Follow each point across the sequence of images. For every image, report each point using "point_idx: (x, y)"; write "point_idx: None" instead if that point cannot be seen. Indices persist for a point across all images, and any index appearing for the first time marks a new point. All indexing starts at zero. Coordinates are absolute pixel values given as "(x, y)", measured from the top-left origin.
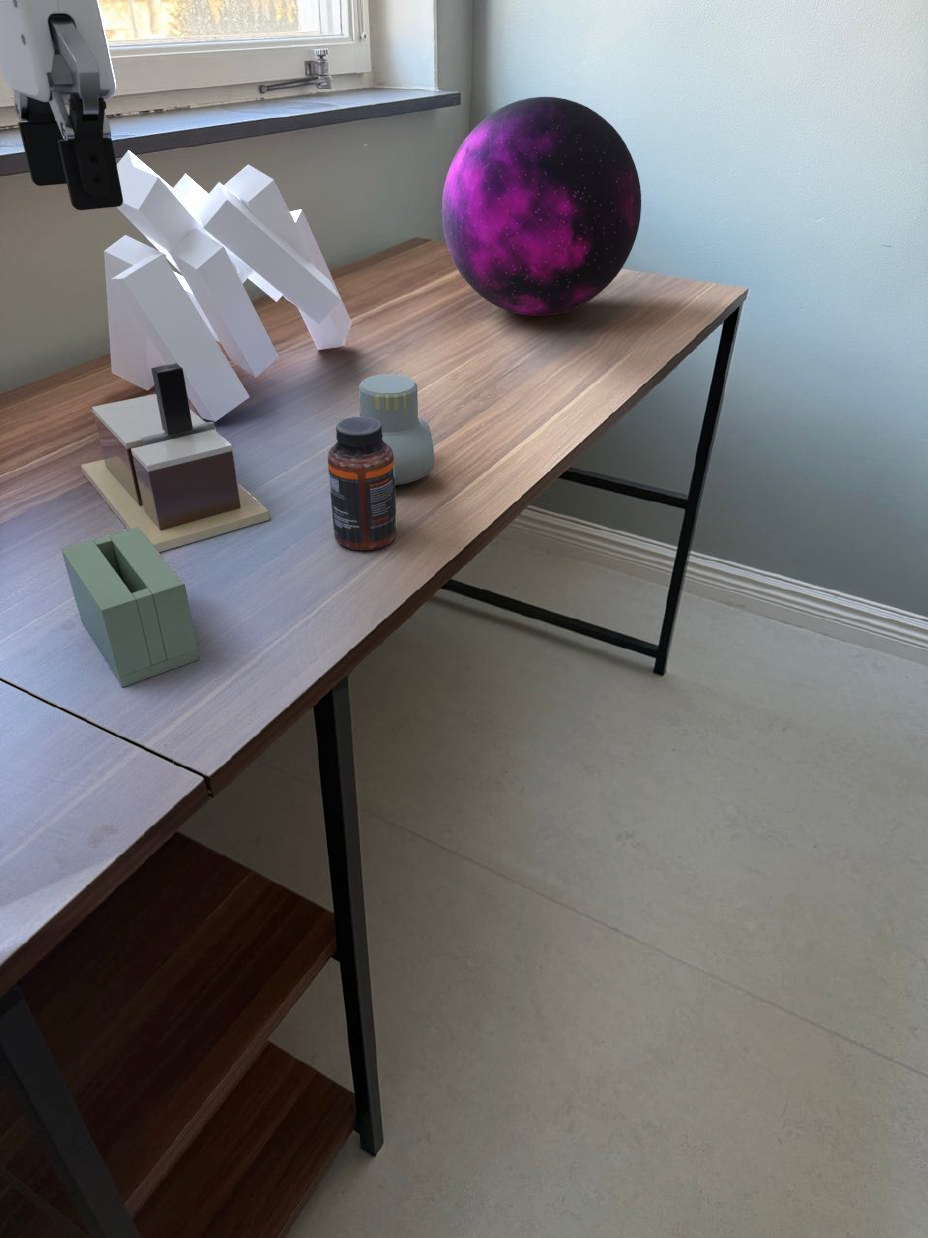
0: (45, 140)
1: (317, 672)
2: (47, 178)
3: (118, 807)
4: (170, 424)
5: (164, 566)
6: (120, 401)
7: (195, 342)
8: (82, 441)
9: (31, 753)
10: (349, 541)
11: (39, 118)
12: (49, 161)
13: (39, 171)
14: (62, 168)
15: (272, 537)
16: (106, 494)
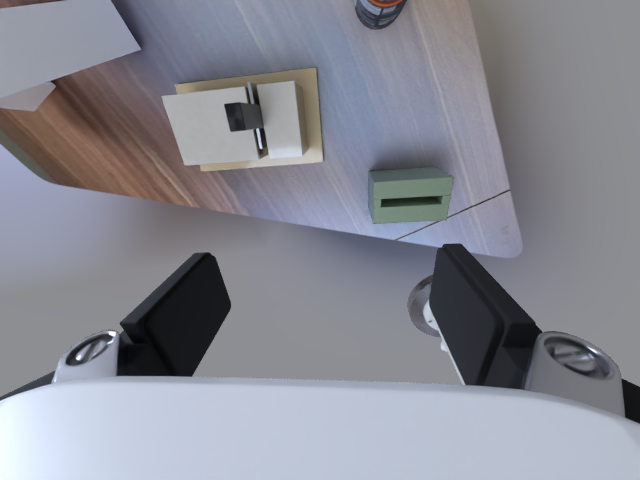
0: (190, 335)
1: (490, 112)
2: (224, 297)
3: (497, 222)
4: (260, 124)
5: (428, 181)
6: (177, 142)
7: (60, 33)
8: (154, 159)
9: (443, 241)
10: (392, 21)
11: (157, 372)
12: (208, 308)
13: (222, 313)
14: (211, 285)
15: (340, 77)
16: (249, 167)
